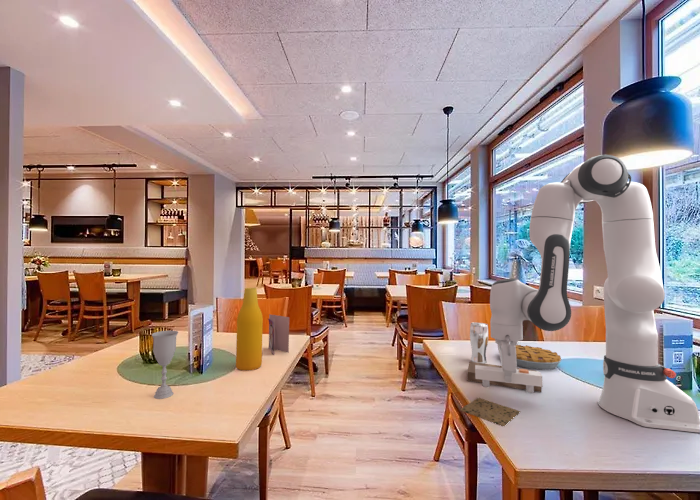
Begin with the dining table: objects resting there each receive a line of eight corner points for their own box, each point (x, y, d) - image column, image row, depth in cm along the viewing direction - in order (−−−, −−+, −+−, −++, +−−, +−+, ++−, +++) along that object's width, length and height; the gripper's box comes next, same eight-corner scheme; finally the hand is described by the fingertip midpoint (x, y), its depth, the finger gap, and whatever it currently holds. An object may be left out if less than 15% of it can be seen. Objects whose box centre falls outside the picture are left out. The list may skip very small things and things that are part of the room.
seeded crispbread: (521, 413, 90) (521, 409, 90) (504, 428, 82) (504, 424, 82) (479, 398, 99) (479, 395, 99) (459, 411, 90) (459, 408, 90)
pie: (572, 373, 121) (572, 360, 121) (509, 369, 124) (509, 356, 125) (547, 355, 143) (547, 344, 143) (493, 352, 146) (493, 341, 146)
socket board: (536, 379, 114) (536, 370, 114) (541, 392, 103) (541, 382, 103) (469, 369, 123) (469, 361, 123) (467, 380, 112) (467, 371, 112)
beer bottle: (230, 369, 118) (232, 288, 119) (244, 361, 127) (246, 286, 128) (253, 372, 116) (255, 289, 116) (266, 363, 125) (268, 287, 125)
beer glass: (484, 359, 136) (485, 322, 136) (490, 364, 129) (490, 326, 129) (467, 358, 136) (468, 322, 137) (472, 363, 129) (472, 325, 130)
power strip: (540, 390, 98) (539, 369, 98) (542, 395, 94) (542, 374, 94) (475, 382, 104) (475, 363, 105) (475, 387, 101) (475, 367, 101)
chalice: (152, 391, 98) (154, 331, 99) (178, 388, 101) (179, 329, 101) (147, 401, 92) (149, 337, 92) (174, 398, 94) (176, 335, 94)
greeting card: (266, 348, 145) (267, 314, 145) (283, 346, 148) (284, 313, 149) (271, 355, 135) (272, 319, 135) (289, 353, 138) (290, 318, 138)
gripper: (522, 341, 89) (523, 392, 89) (514, 326, 108) (515, 369, 108) (496, 339, 91) (497, 389, 91) (493, 325, 110) (494, 366, 110)
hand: (507, 378), depth 99 cm, fingers closed on power strip, 4 cm apart
